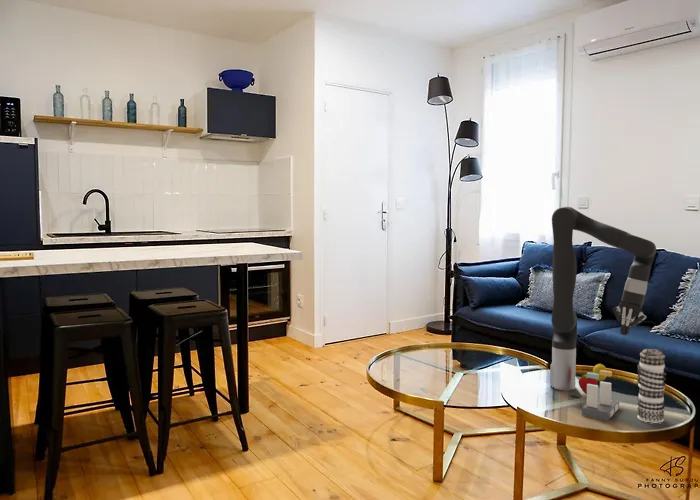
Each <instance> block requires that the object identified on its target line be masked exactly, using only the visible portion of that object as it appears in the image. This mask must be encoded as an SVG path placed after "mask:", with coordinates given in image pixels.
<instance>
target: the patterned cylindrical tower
mask: <svg viewBox="0 0 700 500" xmlns="http://www.w3.org/2000/svg"><path fill="white" fill-rule="evenodd" d="M639 357H640V359H639V363H638V364H637V366H636V367H637V373H638V374H637V382H638V383H637V385H638V387H639V389H638V390H639V392H638V397H637V412H636V414H637V419H638V420H640V421H641V422H643V421H644V423H647V422H653V423H658V422H663V421H664V422H665V419H664V418H665V415H664V414H665V410H664V409H665V398H664V390H665V389H666V387H665V386H666V382H664V381H666V380H667V377H666V376H667V373H666V372H665V371H666V370H667V367H666V365H665V357H666V354H664V353H663V352H662V350H660V349H656V348H645V349H642V351H641V352H639ZM664 422H663V423H664ZM653 423H652V424H653Z"/></svg>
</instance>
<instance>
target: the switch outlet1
mask: <svg viewBox="0 0 700 500" xmlns="http://www.w3.org/2000/svg"><path fill="white" fill-rule="evenodd" d="M586 375H587V377H588V378H594V379H598V378H599V374H597V373H593V372H590V371H588V372H586ZM598 397H599V385H598V384H597V385H593V384H587V395H586V403H587V406H589V407H594V408H598Z"/></svg>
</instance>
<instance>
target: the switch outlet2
mask: <svg viewBox="0 0 700 500" xmlns="http://www.w3.org/2000/svg"><path fill="white" fill-rule="evenodd" d="M600 375H603V376H606V377H609V378H610V377H613V371H610V370H607V371H605V370H600ZM599 397H600V404H605V405H611V399H612V383H611V382H608V381H607V382H606V381H603V380H602V381H601V382H599Z"/></svg>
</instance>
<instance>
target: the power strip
mask: <svg viewBox="0 0 700 500" xmlns="http://www.w3.org/2000/svg"><path fill="white" fill-rule="evenodd" d="M619 409H620V400H619V399H618V400H616V399H612V398H611V405H605V404H600V396H598V408H594V407H589V406H587V402H586V403H585V404H584V405H582V407H581V416H582V417H583V416H584V417H588V418H592V419H593V418H594V419H597V420H602V419H603V421H606V422H607V421H608V422H609V420H610V419H611V418H612V417H613V416H614V415H615V414H616V413H617V411H618V410H619Z"/></svg>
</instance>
